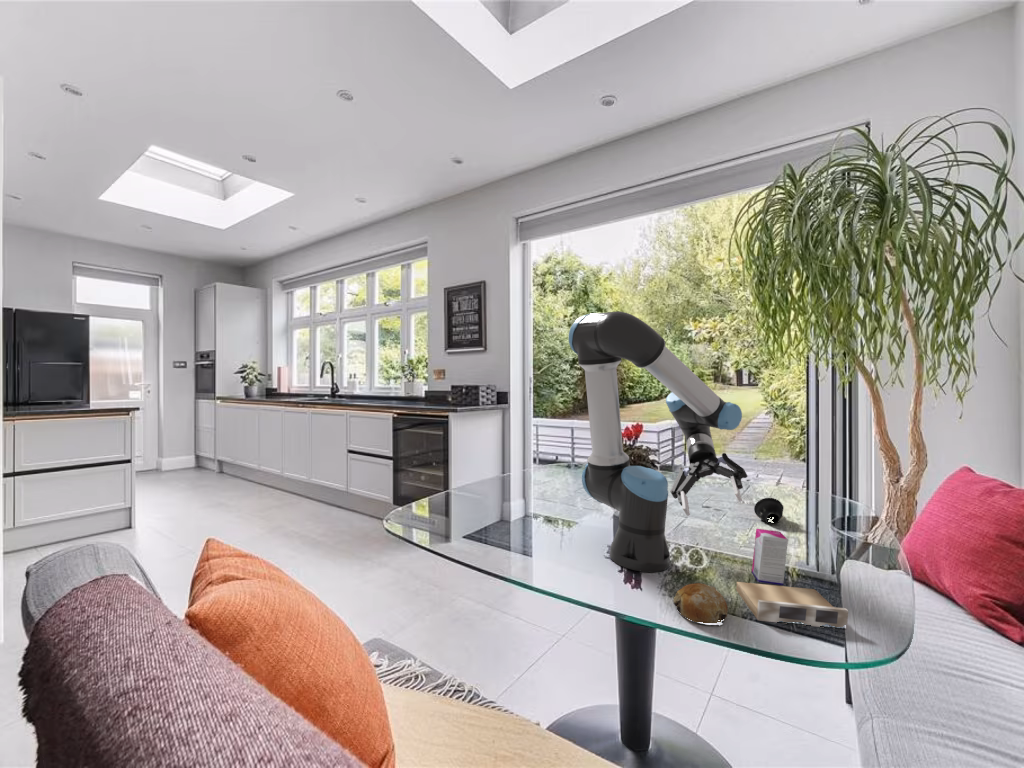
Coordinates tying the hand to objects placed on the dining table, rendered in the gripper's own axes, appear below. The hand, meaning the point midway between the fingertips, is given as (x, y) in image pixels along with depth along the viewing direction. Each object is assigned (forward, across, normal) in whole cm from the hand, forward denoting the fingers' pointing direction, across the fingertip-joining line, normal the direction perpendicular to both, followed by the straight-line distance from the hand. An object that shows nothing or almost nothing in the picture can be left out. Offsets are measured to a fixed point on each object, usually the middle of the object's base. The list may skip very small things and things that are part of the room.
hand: (711, 505), depth 124 cm
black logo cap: (-33, -6, -45) cm, 56 cm away
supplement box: (+12, -5, -17) cm, 21 cm away
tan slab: (+24, -8, -11) cm, 27 cm away
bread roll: (+31, +6, +2) cm, 32 cm away
